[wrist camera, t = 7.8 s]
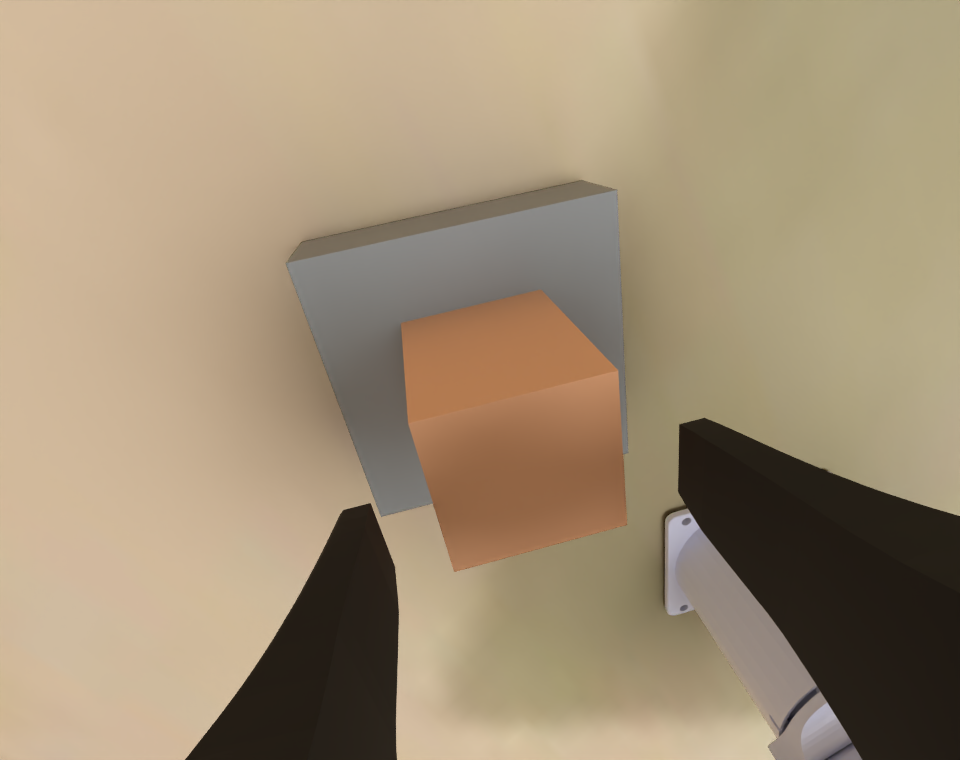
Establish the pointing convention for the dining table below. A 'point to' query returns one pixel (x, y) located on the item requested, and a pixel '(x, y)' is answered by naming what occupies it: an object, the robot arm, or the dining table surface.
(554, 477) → the terracotta block
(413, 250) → the slate base
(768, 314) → the dining table surface
